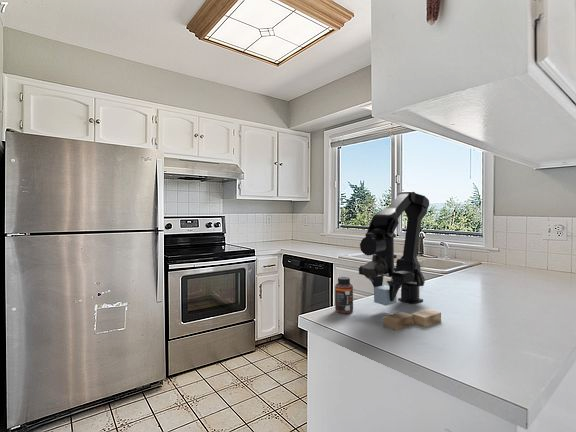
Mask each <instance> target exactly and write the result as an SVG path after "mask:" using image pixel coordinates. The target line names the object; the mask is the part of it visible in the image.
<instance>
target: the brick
mask: <svg viewBox="0 0 576 432" xmlns="http://www.w3.org/2000/svg"><path fill="white" fill-rule="evenodd" d="M411 315H413V316H414V325H418V326H421V327H423V326H424V328H426V327H429V326H431V325H435V324H437V323H441V322H442V311H441V312H440V311H436V310H434V309H431V308H430V309H429V308H426V309H423V310H420V311H415V312H412V313H411Z"/></svg>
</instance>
